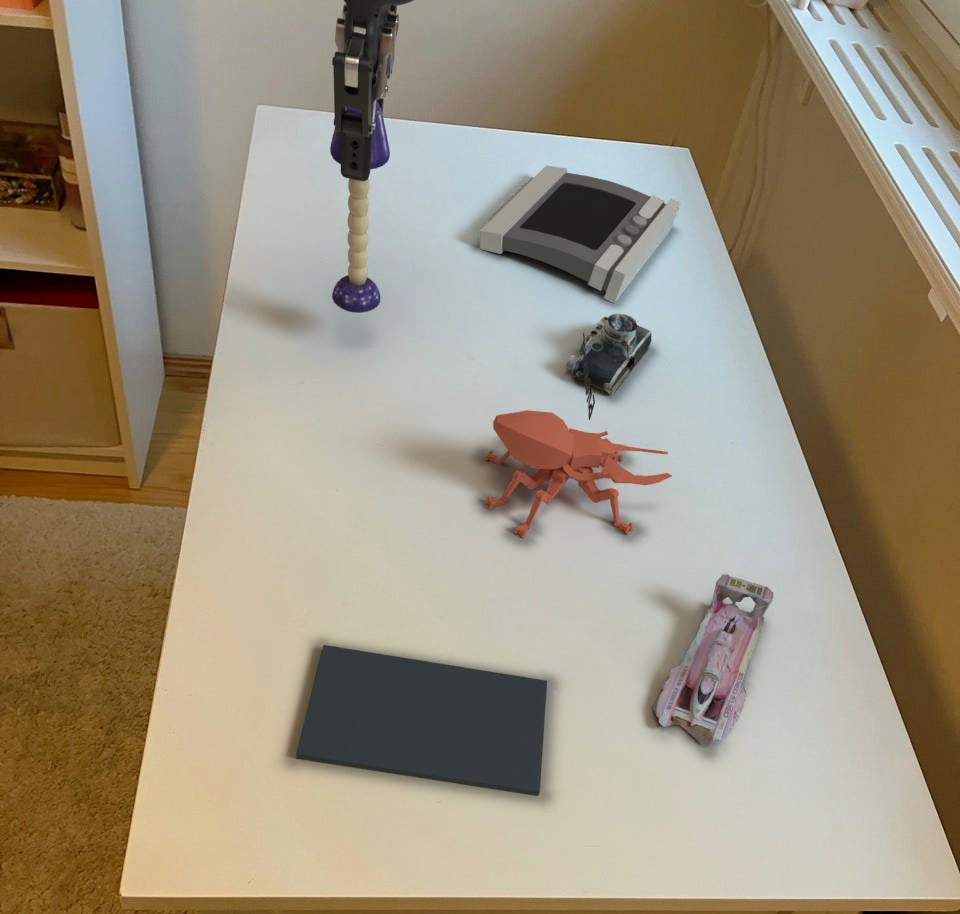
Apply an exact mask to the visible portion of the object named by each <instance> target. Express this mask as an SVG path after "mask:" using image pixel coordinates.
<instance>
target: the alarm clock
mask: <svg viewBox="0 0 960 914" xmlns="http://www.w3.org/2000/svg"><path fill="white" fill-rule="evenodd" d="M681 204H682V202H679V201H677V200H676V199H673V198H670V199H669V201H667V203H665V200H664V199H662V198H660V197H657V196H655V195H654V194H652V195H651V196H650V195H648V194H646V193H643V192H641V191H639V190H637V189H634V188H631V187H629V186H626V185H623V184H620V183H616V182H614V181H611V180H608V179H603V178H597V177H593V176H591V175H590V176H589V175H584V174H578V173H571V172H568V168H566V167H560V166H554V165H545V166H544V167H543V168H542V169H541V170H540V171H539V172H538V173H537V174H536V175H535V176H534V177H532V178H531V177H530V179H529V180H527V181H526V182H525V183H524V184H523V185H522V186H521V187H520V188H519V189H518V190H517V191H516V192H515V193H514V194H513V195H512V196H510V198H509V199H507V201H506V202H504V203H503V205H502V206H500V207H499V209H497V210H496V211H495V213H493V214H492V215H491V216H490V217H489V218H488V221H487V222H486V224H485V225H484V226H483V227H481V229H479V250H484V251H487V252H490V253H495V254H499V255H502V254H503V252H510V253H514V254H517V255H522V256H525V257H528V258H531V259H534V260H536V261H540V262H543V263H545V264H548V265H550V266H553V267H554V268H557V269H559V270H562V271H565V272H567V273H569V274H571V275H572V276H575V277H577V278H579V279H581V280H583V281H585V282H587V285H588V286H590V287H592V288H594V289H596V290H598V291H600V292H601V291H602V290H603V291H605V294H604V296H603V299H604V300H606V301H608V302H610V303H612V304H615V303H616V302H617V301H618V300H619V298H620V297H621V296H622V295H623V293H624V292H625V291H626V289H627V288H628V287H629V285H630V284H631V282H632V281H633V280H634V279H635V278H636V276H637V275H638V273H639V272H640V271H641V270H642V268H643V267H644V266H645V264H647V262H648V260H649V259H650V258H651V256H652V255H653V254H654V253H655V252H656V250H657V249H658V248H659V246H660V245H661V243H662V242H663V241H664V239H665V238H666V237H667V236H668V234H669V233H670V232H671V229H672V227H673V224H674V222H675V219H676V217H677V215H678V211H679V209H680V207H681ZM672 223H673V224H672ZM669 227H670V228H669Z"/></svg>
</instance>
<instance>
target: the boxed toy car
mask: <svg viewBox="0 0 960 914" xmlns="http://www.w3.org/2000/svg"><path fill="white" fill-rule="evenodd" d="M727 598H728V599H729V601H731V603H724V602H723V601H724V600H726V599H727ZM745 598H750V599H751V600H752V601H753V602H754V606H753V608H752V610H751V611H750V612H749V611H746V610H743V609H740V608H739V606H738V605H737V604H736V603H741V602H742V601H743V600H744V599H745ZM773 599H774V591H772V589H770V588H769V587H768V586H765V585H763V584H759V583H756V582H752V581H748V580H745V579H742V578H739V577H735V576H730V575H729V574H721V575H720V577H719V578H718V579H717V580H716V582H715V587H714V590H713V596H712V600H711V602H710V605H709V606H708V608H707V609H706V613H705V615H704V619H703V620H702V622H701V623H700V624H699V628H698V631H697V633H696V635H695V637H694V638H693V640H692V643H690V645H689V647H688V649H687V650H686V652H685V653H684V655H683V656H682V657H681V659H680V660H681V662H680V664H679V665H678V666H675V667H672V668H671V669H670V671H669V676H668V679H667V680H665V682H663V683H662V685H661V687H660V689H661V690H662V691H661V693H660V694H659V695H658V697H657V698H656V699H655V700H654V703H653V705H652V710H653V712H654V714H655V716H656V717H657V719H658V722H659V724H660V726H662V727H663V728H667V727H671V726H674V725H678V726H680V727H681V728H682V729H684V730H685V731H686V732H687V733H688V734H690V735H691V736H692V737H693V738H694V739H695V740H696V741H697V742H698V743H700V744H701V745H702V746H703V747H705V746H706V745H710V744H713V743H715V742H719V741H721V740H722V739H723V737H725V736H726V735H727V734H729V732H730V731H731V730H732V727H734V725H735V723H736V722H737V721H738V719H739V717H740V716H741V714H742V711H743V708H744V705H745V703H746V699H747V696H748V694H747V692H746V691H747V690H746V689H745V681H746V676H747V674H748V673H747V672H748V669H749V667H750V662H751V658H752V656H753V652H754V650H755V648H756V645H757V642H758V639H759V635H760V633H761V630H762V628H763V624H764V622H765V616H764V615H765V614H766V612H767V610H768V609H769V608H770V606H771V604H772V602H773Z"/></svg>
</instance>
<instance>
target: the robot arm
mask: <svg viewBox="0 0 960 914" xmlns="http://www.w3.org/2000/svg"><path fill="white" fill-rule="evenodd" d="M414 1H415V0H343V2H344V4H343V5H342V6H343V8H342V14H341V15H342V16H341V17H337V19H336V22H335V23H336V24H335V36H334V43H335V45H336V47H337V51H335V52H334V56H332V62H331V65H332V66H333V105H334V106H333V109H334V111H333V112H334V118H333V126H334V129H335V131H337V132H342V143H341V164H340V174H341V176H342V177H343V178H345V179H347V180H349V179H354V180H359V181H366V180H367V179H369V177H370V175H371V170H372V169H371V153H372V136H373V130H375V125H376V122H374V120H375V110H376V102H378V104H379V105H380V107H381V111H382V114H383V115H384V102H385V101H384V100H385V99H384V98H386V96H387V94H388V92H389V85H388V80H390V78H391V75H392V74H393V67H394V63H395V50H396V49H395V45H396V40H397V37H398V32H399V26H400V14H399V13H397V12H398V6H402V5H403V6H404V5H406V4H407V5H408V4H410V3H412V2H414ZM349 108H354V109H359V110H360V111H361V112H362V114H358V113H353V112H349Z"/></svg>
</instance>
